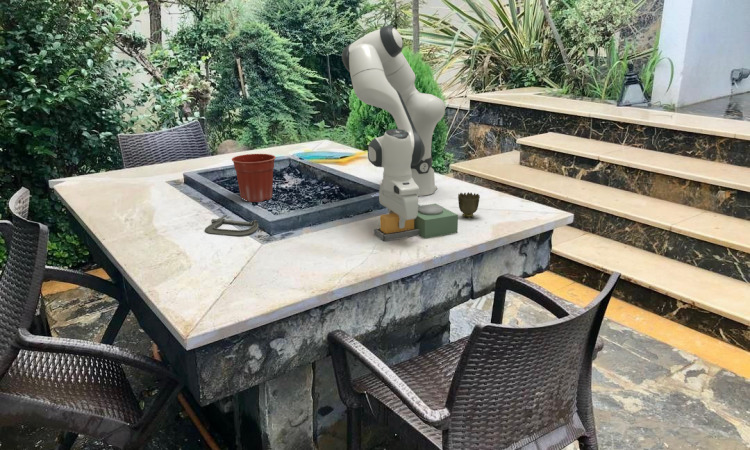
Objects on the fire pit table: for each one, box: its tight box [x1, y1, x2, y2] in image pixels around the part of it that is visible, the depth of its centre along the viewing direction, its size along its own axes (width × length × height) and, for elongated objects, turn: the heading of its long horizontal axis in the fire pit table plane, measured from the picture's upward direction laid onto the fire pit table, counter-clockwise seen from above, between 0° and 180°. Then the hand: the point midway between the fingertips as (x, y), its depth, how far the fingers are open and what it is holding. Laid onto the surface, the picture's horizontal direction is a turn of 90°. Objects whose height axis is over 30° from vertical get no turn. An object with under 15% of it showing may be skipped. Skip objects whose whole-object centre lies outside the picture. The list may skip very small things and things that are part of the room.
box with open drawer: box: [373, 203, 459, 242], centre depth 185 cm, size 14×25×7 cm, turn 115°
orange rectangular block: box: [379, 213, 414, 235], centre depth 182 cm, size 4×10×5 cm, turn 115°
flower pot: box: [231, 153, 277, 203], centre depth 222 cm, size 16×16×16 cm
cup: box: [457, 191, 480, 219], centre depth 199 cm, size 8×7×8 cm
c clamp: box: [204, 215, 259, 237], centre depth 192 cm, size 20×17×3 cm
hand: (397, 225), depth 183 cm, fingers closed on orange rectangular block, 4 cm apart
